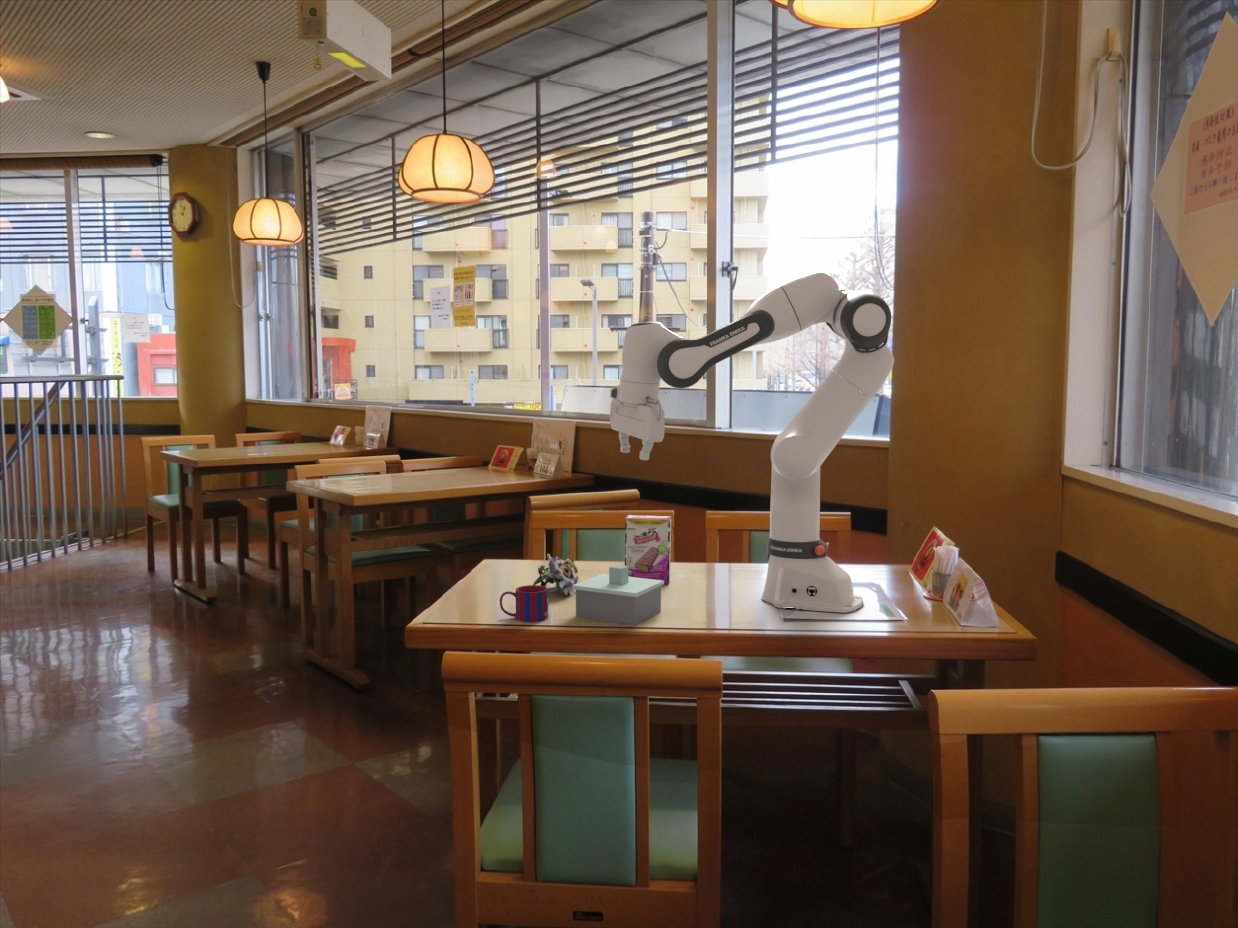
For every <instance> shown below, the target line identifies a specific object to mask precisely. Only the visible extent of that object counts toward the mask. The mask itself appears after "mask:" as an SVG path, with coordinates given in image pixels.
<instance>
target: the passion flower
mask: <svg viewBox="0 0 1238 928" xmlns="http://www.w3.org/2000/svg"><path fill="white" fill-rule="evenodd" d="M546 557H547V561H548V564H547V565H548V567H546V565H544V564H541V565H540V567H539V566H538V568H537V573H538V574H539V577H537V579H535V580H534V581H533V584H532V585H538V584H540V585H539V586H545V587H547V584H548V583H550V584H552V585H553V584H555V588H556V590H558V591H560V593H561V595H563V596H565V597H567V596H574V595H575V591H574V590H575V589H573V585H575V584H577V583H579V582H578V581H579V575H577V574H578V573H579V572H578V570H579V569H578V566H577V565H576V564H575V559H573V558H572V559H571V560H570V558H567V559H565V558H563V559H561V558H559V557H558V556H554V557H551V554H549V553H547V554H546ZM564 559H565V560H564ZM545 567H546V568H545ZM544 580H545V581H544Z"/></svg>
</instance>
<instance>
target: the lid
mask: <svg viewBox="0 0 1238 928" xmlns="http://www.w3.org/2000/svg"><path fill="white" fill-rule="evenodd" d="M608 571H609V573H601V574H598V575H595V576H593V577H590V578H587V579H585V580H583V581H580V582H578V583H577V584H575V585H573V590H575V591H576V590H584V591H592V592H599V593H607V594H615V595H623V596H631V597H638V596H640V595H642V594H644V593H647V592H649V591H651V590H653V589H655V588H657V587H659V586H661V587H662V586H664V585H665V584H664V581H662V580H654V579H645V578H637V577H628V566H625V565H623V564H621V565H620V564H614V565H612V566H609V567H608Z"/></svg>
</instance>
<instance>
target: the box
mask: <svg viewBox="0 0 1238 928" xmlns="http://www.w3.org/2000/svg"><path fill="white" fill-rule="evenodd" d="M661 587H662V586H659V587H657V588H655V589H653V590H651V591H649V592H647V593H644V594H642V595H640V596H638V597H631V596H623V595H615V594H607V593H599V592H592V591H584V590H576V589H575V617H577V618H582V619H589V620H597V621H598V620H599V621H604V622H611V623H617V624H618V623H619V624H625V625H630V626H631V625H632V626H636V625H638V624H640V623H642V622H644V621H646V620H648V619H650V618H652V617H654V616H656V615H657V614H660V613H661V612H662V607H661V606H662V588H661Z"/></svg>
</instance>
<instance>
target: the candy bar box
mask: <svg viewBox="0 0 1238 928" xmlns="http://www.w3.org/2000/svg"><path fill="white" fill-rule="evenodd" d="M624 524H625V525H624V529H625V530H624V532H625V533H624V566H628V577H637V578H645V579H654V580H662V581H664V585H667V586H668V585H670V581H671V560H672V559H671V555H672V554H671V552H672V551H671V550H672V545H671V544H672V542H671V541H672V539H671V538H672V516H667V515H664V516H663V515H641V514H640V515H633V514H628V515H626V517H625V523H624Z"/></svg>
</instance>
